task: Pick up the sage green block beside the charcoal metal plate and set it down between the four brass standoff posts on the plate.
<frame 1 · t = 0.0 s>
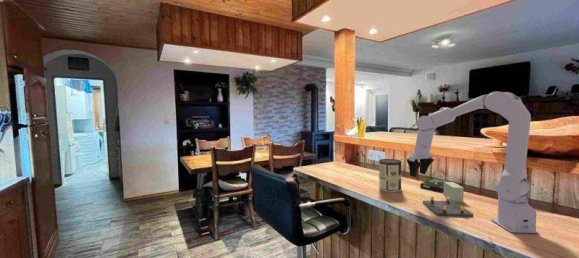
hand: (417, 174, 108), 11 cm above the breakfast bar, tool pointing down, fingers open, 7 cm apart
coffee can: (389, 189, 124), on the breakfast bar
disk drive: (437, 188, 125), on the breakfast bar
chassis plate: (446, 209, 97), on the breakfast bar
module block: (453, 198, 109), on the breakfast bar
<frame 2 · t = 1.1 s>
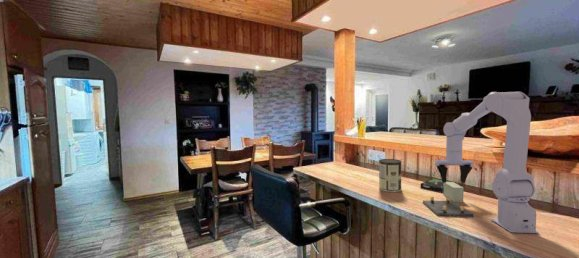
hand: (453, 182, 109), 7 cm above the breakfast bar, tool pointing down, fingers open, 7 cm apart
nothing on the breakfast bar moved.
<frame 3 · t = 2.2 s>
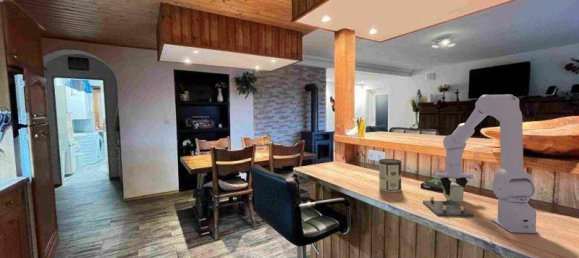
hand: (453, 194, 109), 1 cm above the breakfast bar, tool pointing down, fingers closed on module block, 4 cm apart
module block: (452, 198, 109), on the breakfast bar, touching gripper
everything else where it was.
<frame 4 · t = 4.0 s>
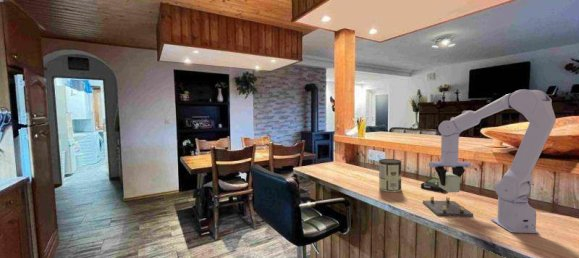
hand: (449, 185, 100), 8 cm above the breakfast bar, tool pointing down, fingers closed on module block, 4 cm apart
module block: (448, 189, 101), point 7 cm above the breakfast bar, touching gripper
everything else where it was.
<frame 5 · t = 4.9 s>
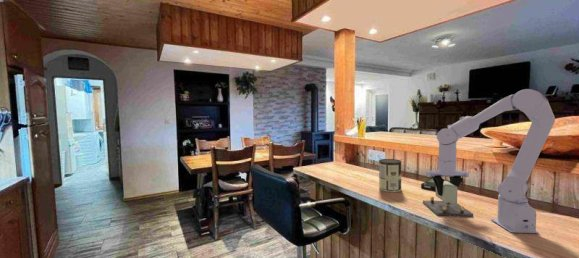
hand: (446, 195, 97), 6 cm above the breakfast bar, tool pointing down, fingers closed on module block, 4 cm apart
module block: (445, 199, 97), point 4 cm above the breakfast bar, touching gripper
everything else where it was.
when the fingers open (4 cm above the breakfast bar, at t = 5.6 s): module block drops 1 cm, resting on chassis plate.
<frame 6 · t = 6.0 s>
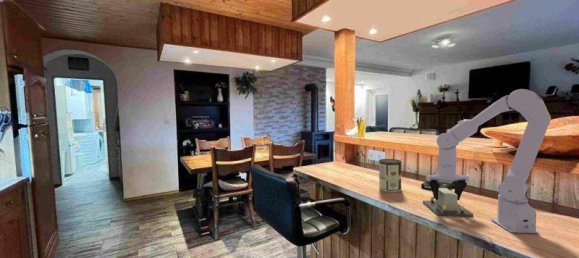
hand: (446, 199, 97), 4 cm above the breakfast bar, tool pointing down, fingers open, 7 cm apart
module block: (445, 206, 98), point 1 cm above the breakfast bar, touching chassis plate
everything else where it was.
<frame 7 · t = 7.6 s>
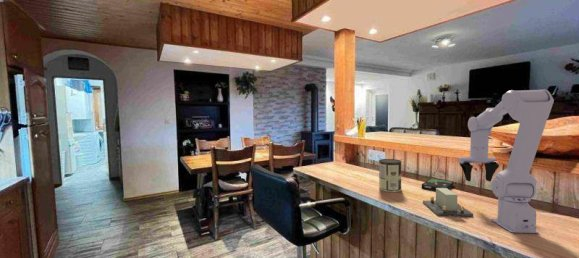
hand: (478, 180, 102), 9 cm above the breakfast bar, tool pointing down, fingers open, 7 cm apart
nothing on the breakfast bar moved.
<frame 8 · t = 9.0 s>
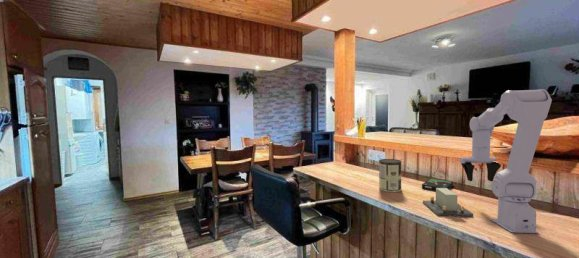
hand: (479, 180, 102), 9 cm above the breakfast bar, tool pointing down, fingers open, 7 cm apart
nothing on the breakfast bar moved.
at the end: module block 0.2 cm off-centre on the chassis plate, point 1.0 cm above the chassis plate's base; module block tilted 0°; the gripper is holding nothing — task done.
